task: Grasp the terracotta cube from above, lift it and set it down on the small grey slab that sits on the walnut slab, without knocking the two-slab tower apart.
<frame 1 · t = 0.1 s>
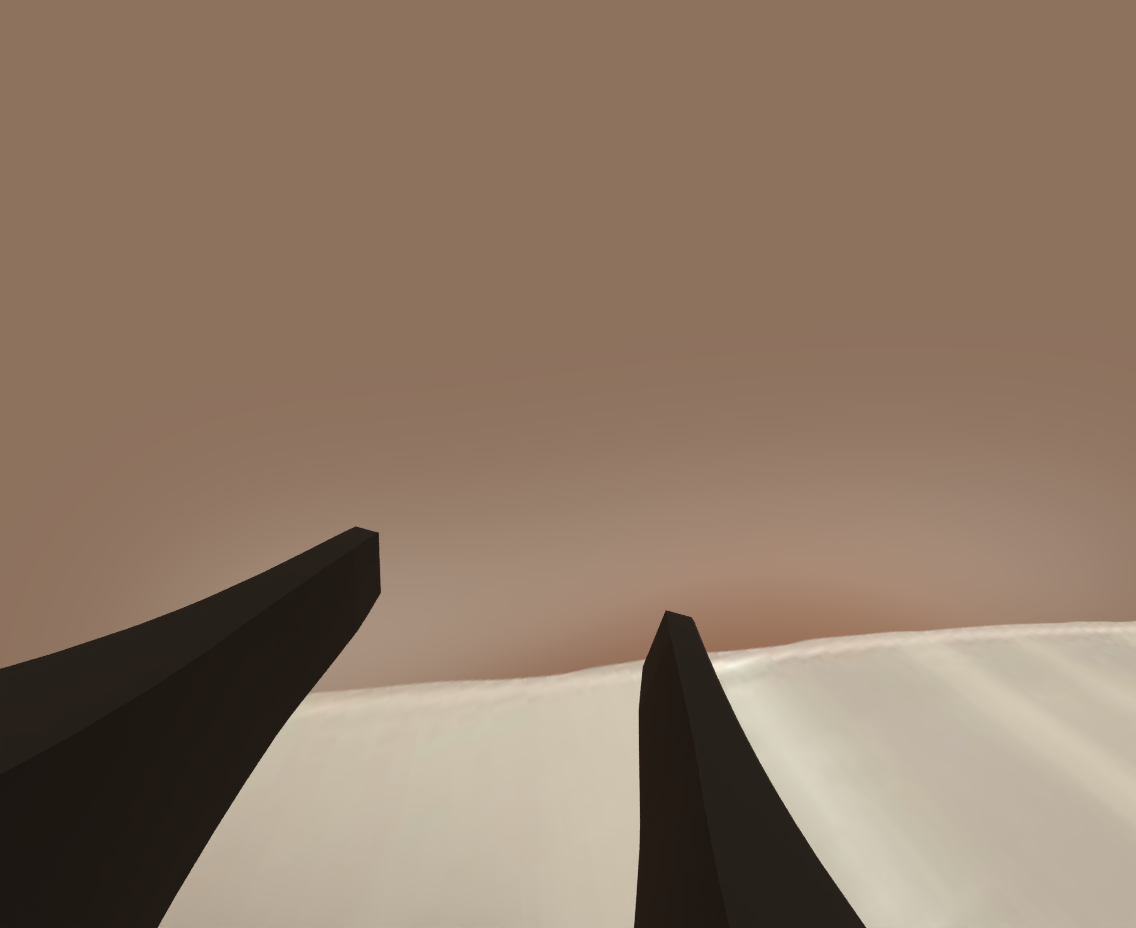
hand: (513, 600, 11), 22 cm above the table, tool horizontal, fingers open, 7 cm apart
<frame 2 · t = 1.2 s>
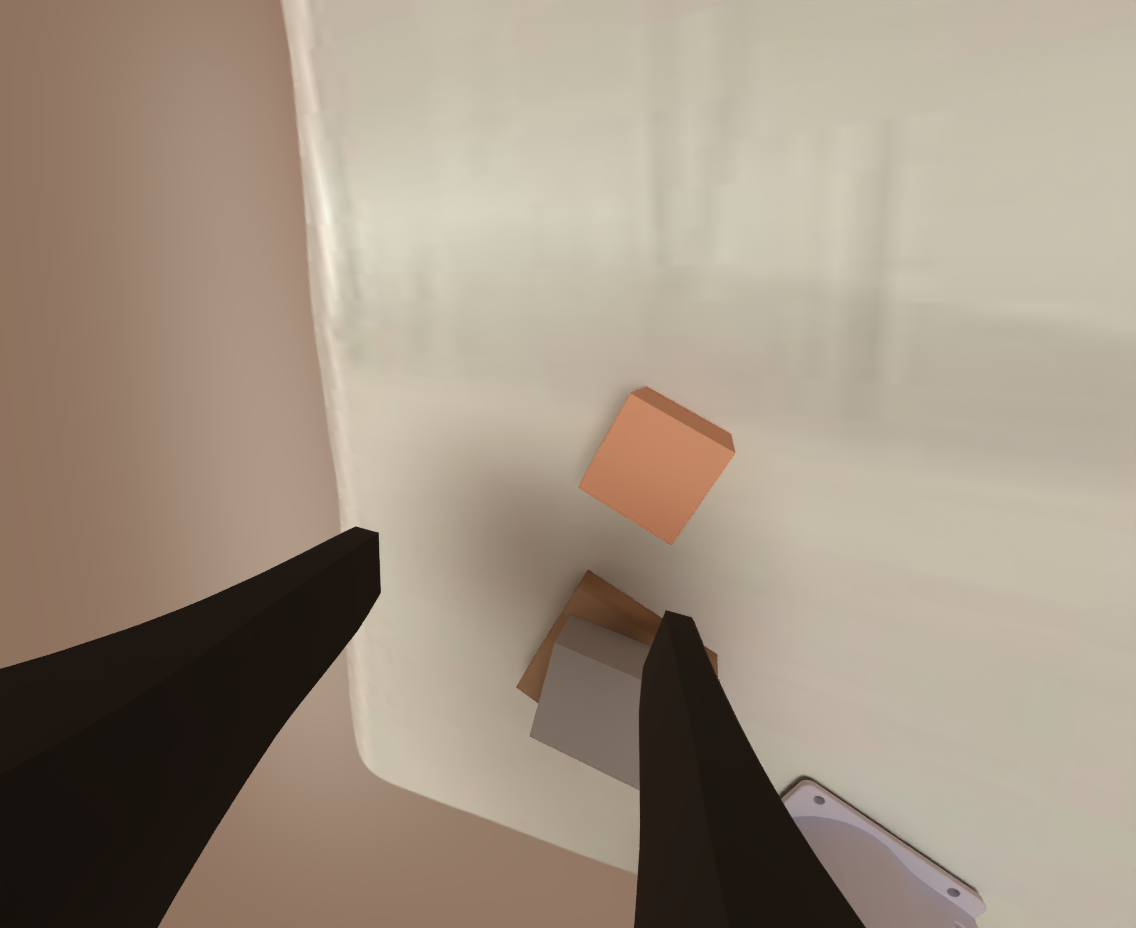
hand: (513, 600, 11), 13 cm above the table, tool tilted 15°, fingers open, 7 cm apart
terracotta cube: (663, 449, 21), on the table
grey slab: (610, 681, 23), point 2 cm above the table, touching walnut slab
walnut slab: (617, 654, 25), on the table, touching grey slab
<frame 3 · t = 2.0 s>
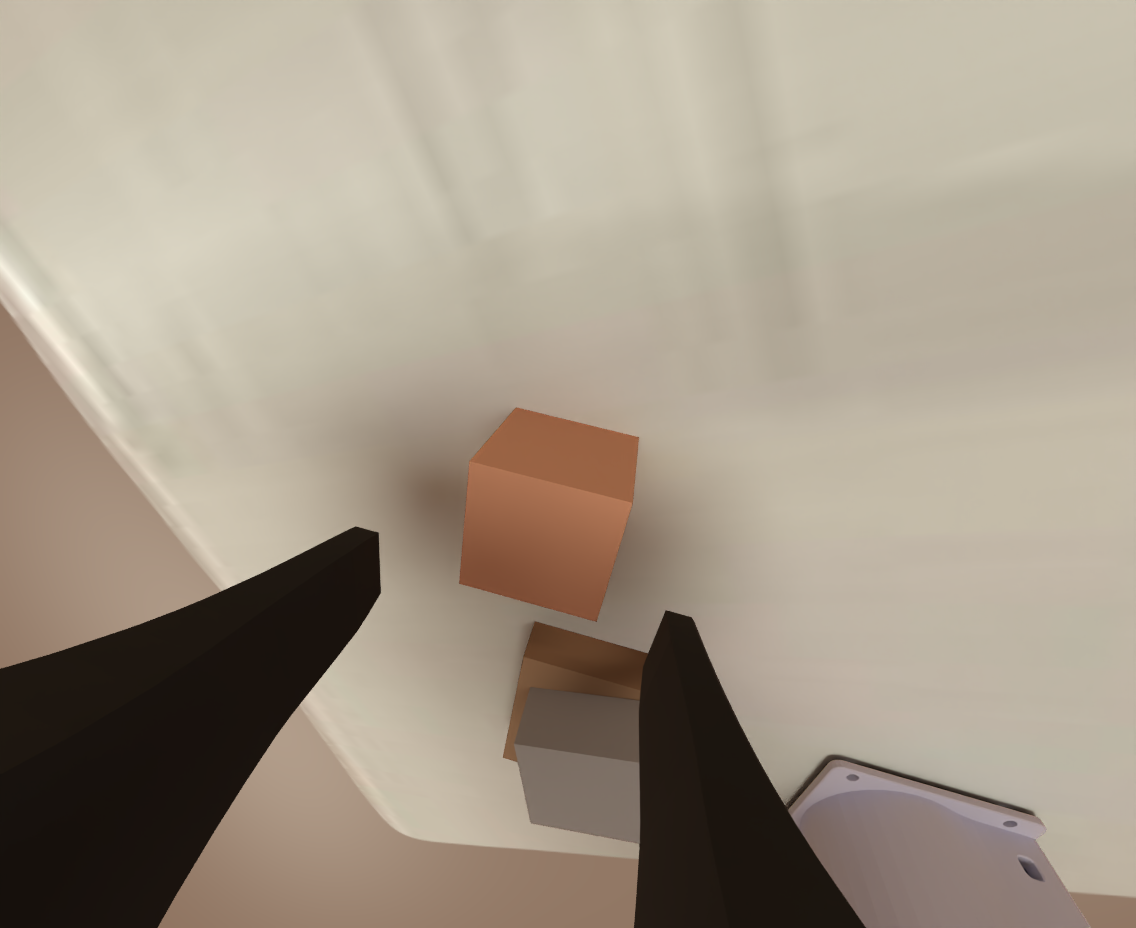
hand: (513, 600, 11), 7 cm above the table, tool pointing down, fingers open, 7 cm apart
terracotta cube: (566, 475, 17), on the table
grey slab: (599, 737, 20), point 2 cm above the table, touching walnut slab
walnut slab: (600, 688, 22), on the table, touching grey slab
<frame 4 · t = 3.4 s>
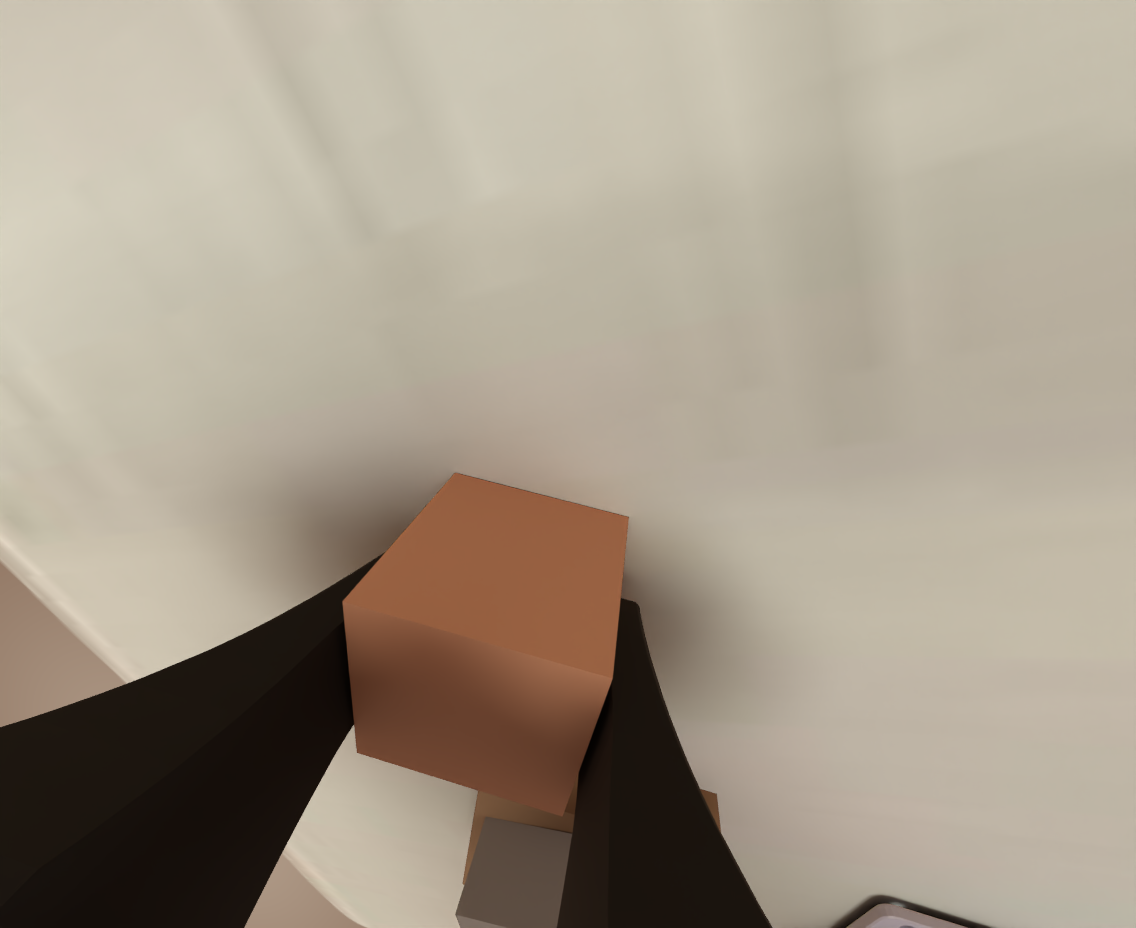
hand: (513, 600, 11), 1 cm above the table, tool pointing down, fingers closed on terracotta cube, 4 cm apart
terracotta cube: (528, 562, 12), on the table, touching gripper
grey slab: (575, 876, 16), point 2 cm above the table, touching walnut slab
walnut slab: (585, 796, 18), on the table, touching grey slab
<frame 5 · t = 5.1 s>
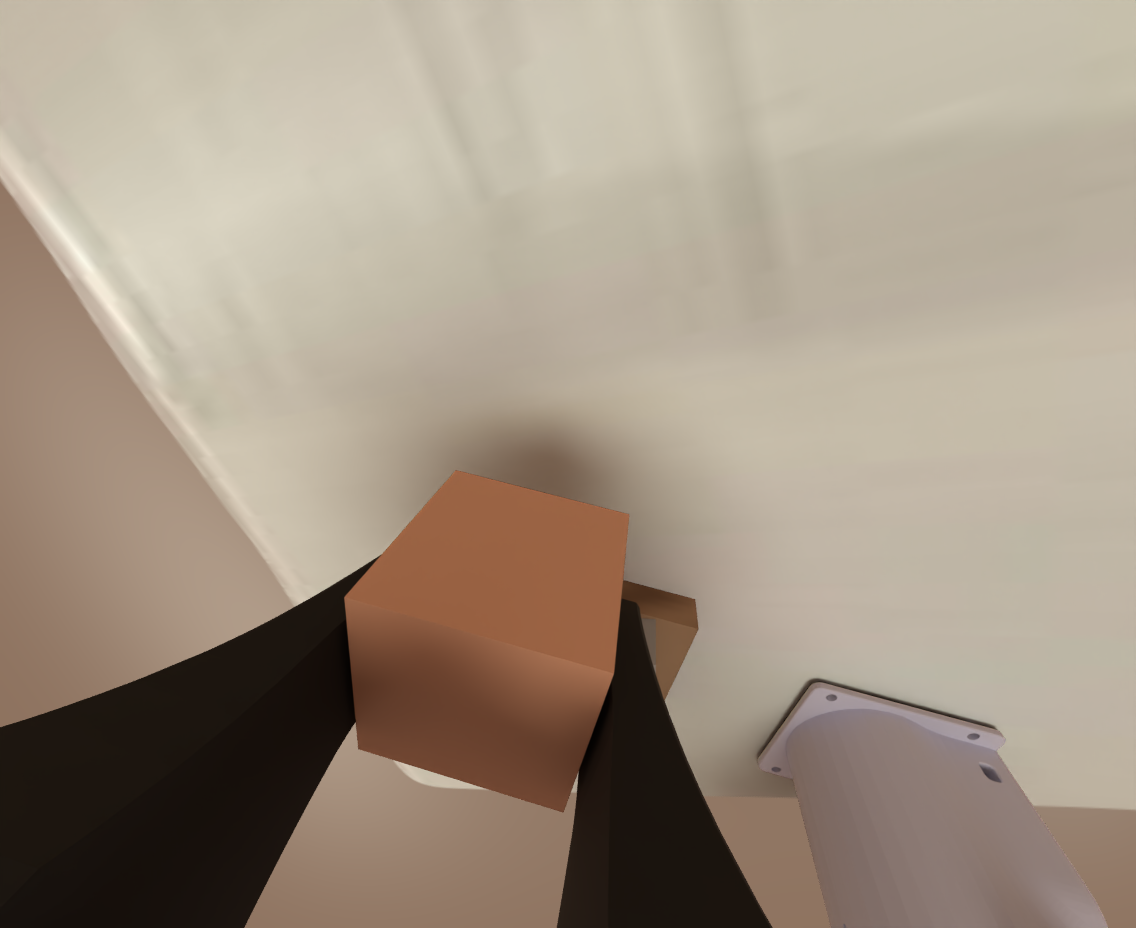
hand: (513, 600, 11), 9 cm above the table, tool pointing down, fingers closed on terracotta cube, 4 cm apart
terracotta cube: (528, 560, 12), point 8 cm above the table, touching gripper
grey slab: (595, 658, 22), point 2 cm above the table, touching walnut slab
walnut slab: (601, 623, 24), on the table, touching grey slab
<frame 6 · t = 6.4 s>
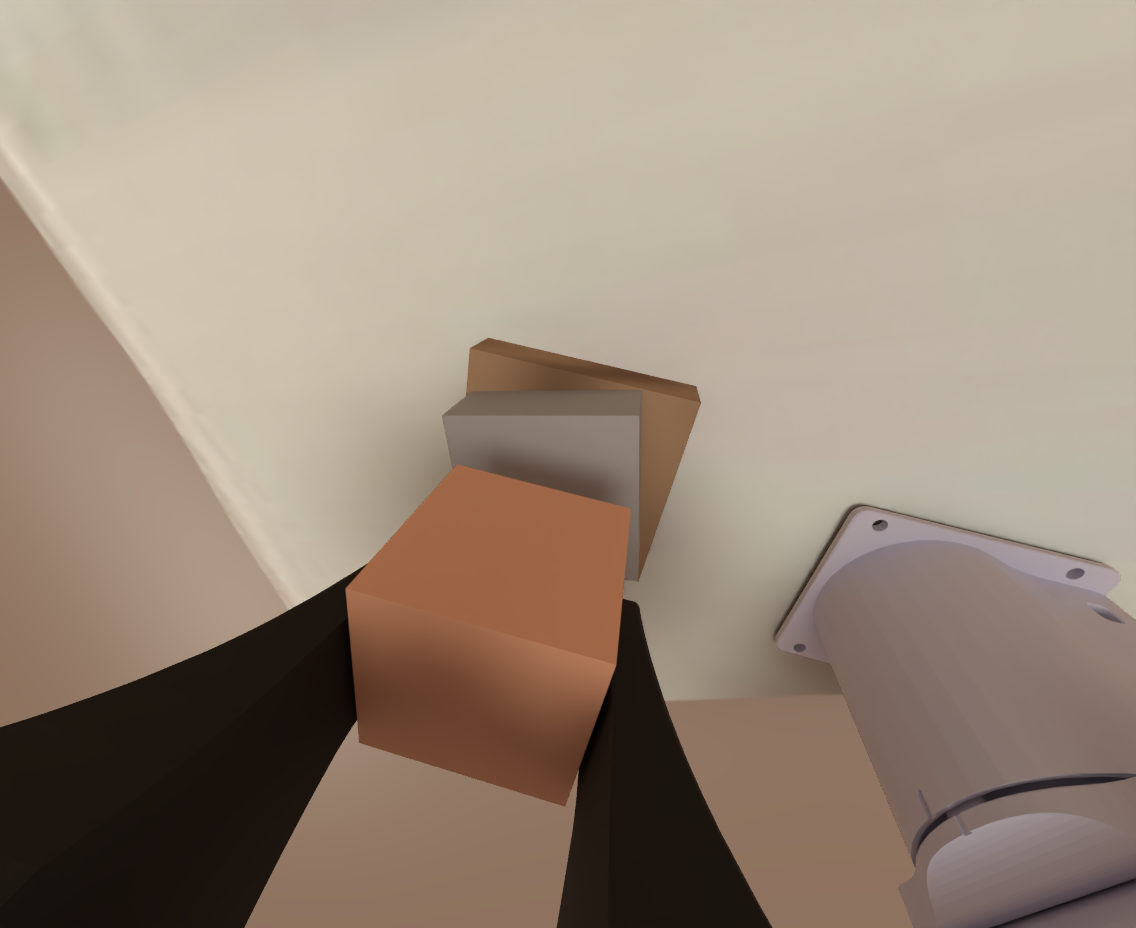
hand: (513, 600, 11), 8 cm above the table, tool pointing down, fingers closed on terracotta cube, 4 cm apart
terracotta cube: (530, 554, 12), point 7 cm above the table, touching gripper
grey slab: (560, 467, 16), point 2 cm above the table, touching walnut slab
walnut slab: (573, 448, 19), on the table, touching grey slab
when the fingers open (8 cm above the table, at t = 7.0 s): terracotta cube drops 2 cm, point 4 cm above the table.
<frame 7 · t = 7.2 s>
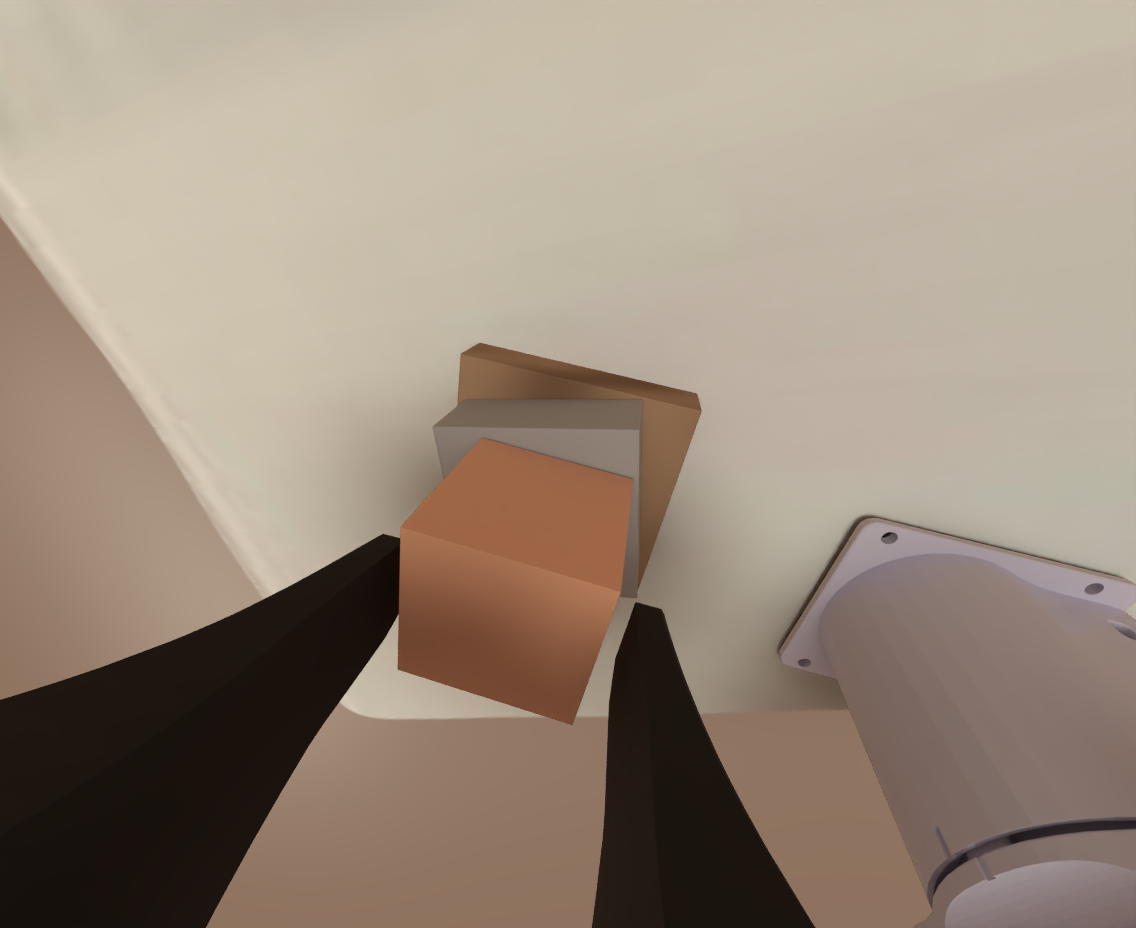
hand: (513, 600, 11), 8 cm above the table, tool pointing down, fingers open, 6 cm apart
terracotta cube: (543, 520, 13), point 4 cm above the table
grey slab: (557, 478, 16), point 2 cm above the table, touching walnut slab
walnut slab: (569, 456, 18), on the table, touching grey slab
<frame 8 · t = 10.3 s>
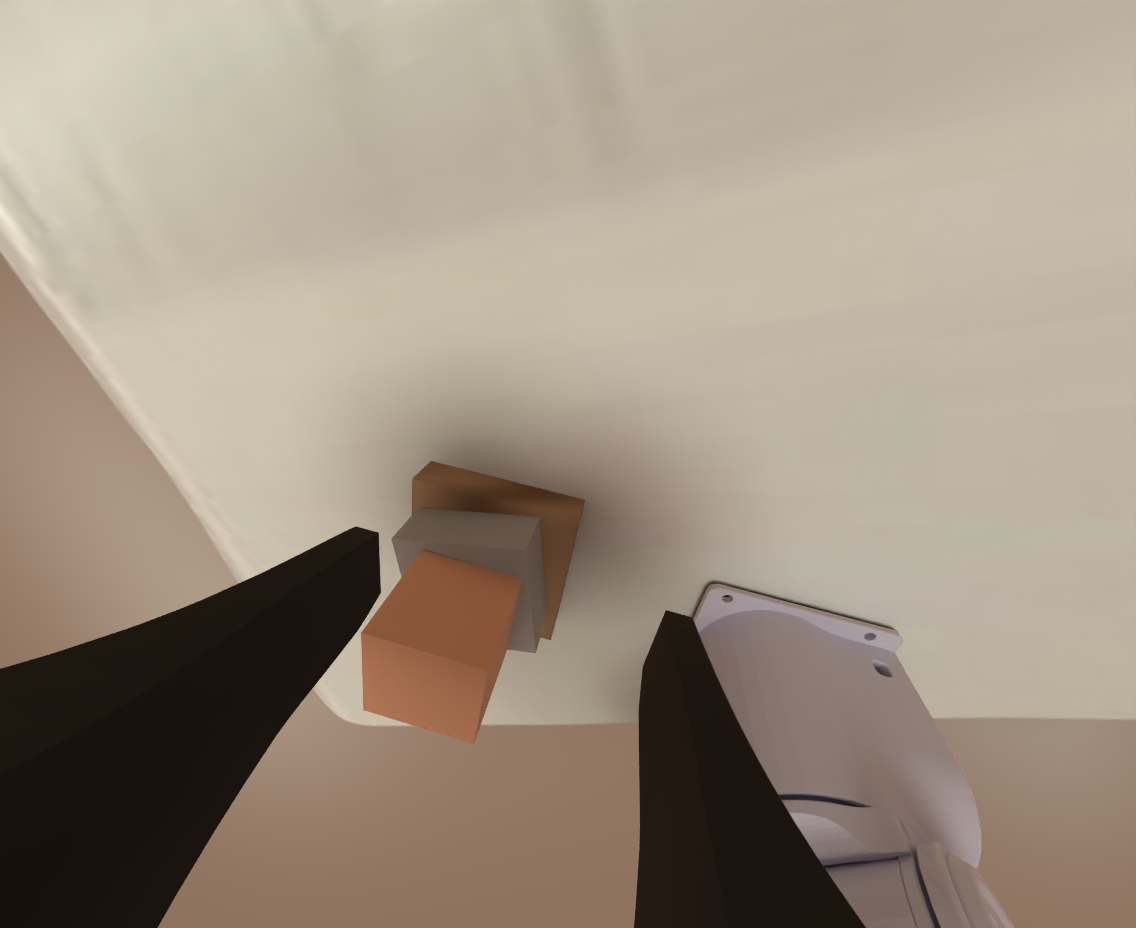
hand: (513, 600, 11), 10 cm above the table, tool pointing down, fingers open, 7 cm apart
terracotta cube: (467, 601, 20), point 4 cm above the table, touching grey slab
grey slab: (485, 562, 22), point 2 cm above the table, touching terracotta cube, walnut slab
walnut slab: (502, 535, 24), on the table, touching grey slab
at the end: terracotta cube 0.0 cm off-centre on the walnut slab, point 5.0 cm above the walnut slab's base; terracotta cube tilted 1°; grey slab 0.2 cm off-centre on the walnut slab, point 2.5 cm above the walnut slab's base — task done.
